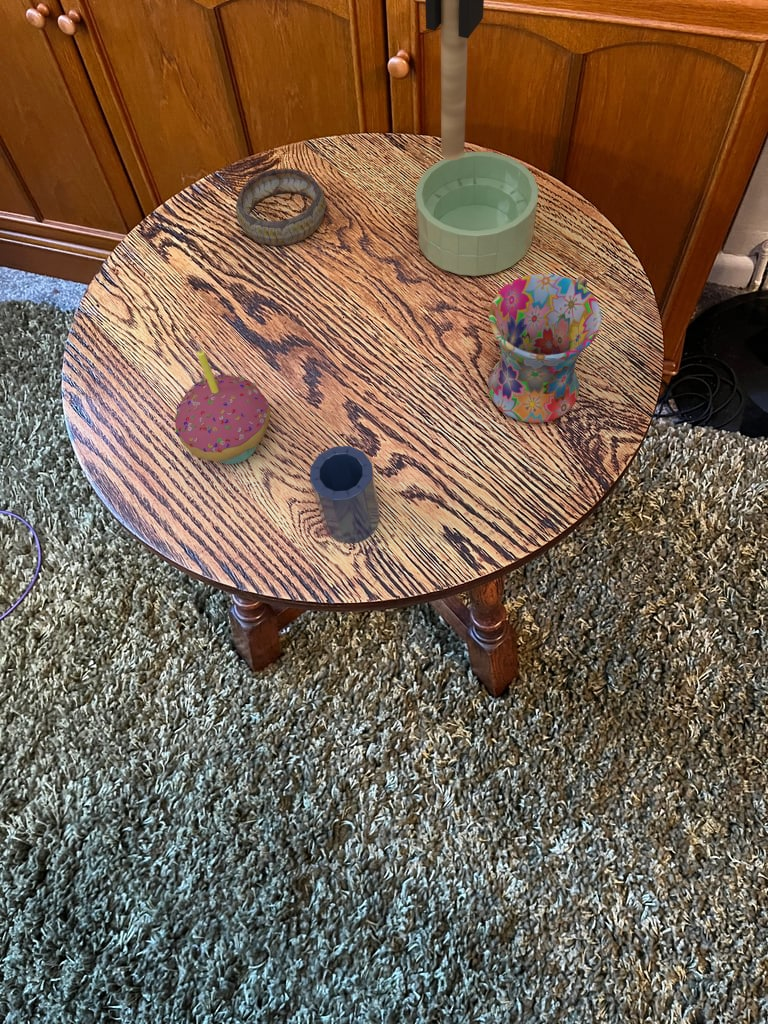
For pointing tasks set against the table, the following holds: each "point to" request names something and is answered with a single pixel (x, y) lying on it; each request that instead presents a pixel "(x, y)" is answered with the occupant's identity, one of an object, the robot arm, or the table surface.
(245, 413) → the cupcake
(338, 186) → the table surface
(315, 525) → the table surface
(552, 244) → the table surface
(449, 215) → the bowl
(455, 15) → the stick
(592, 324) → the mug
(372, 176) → the table surface
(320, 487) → the holder
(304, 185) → the decorative ring
